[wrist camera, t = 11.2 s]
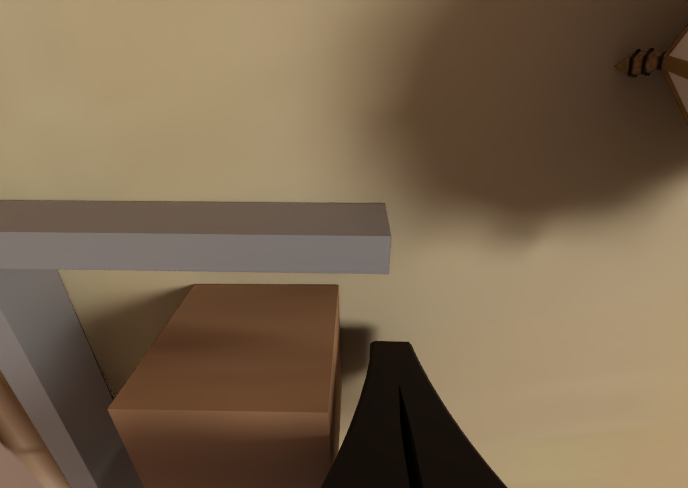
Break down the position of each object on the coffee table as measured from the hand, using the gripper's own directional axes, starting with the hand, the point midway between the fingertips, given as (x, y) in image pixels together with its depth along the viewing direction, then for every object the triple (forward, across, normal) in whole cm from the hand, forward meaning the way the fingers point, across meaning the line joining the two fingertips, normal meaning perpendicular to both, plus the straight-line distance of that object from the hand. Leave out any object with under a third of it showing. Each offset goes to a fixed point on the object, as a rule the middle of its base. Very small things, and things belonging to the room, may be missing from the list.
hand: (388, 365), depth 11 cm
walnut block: (+1, +4, 0) cm, 4 cm away
